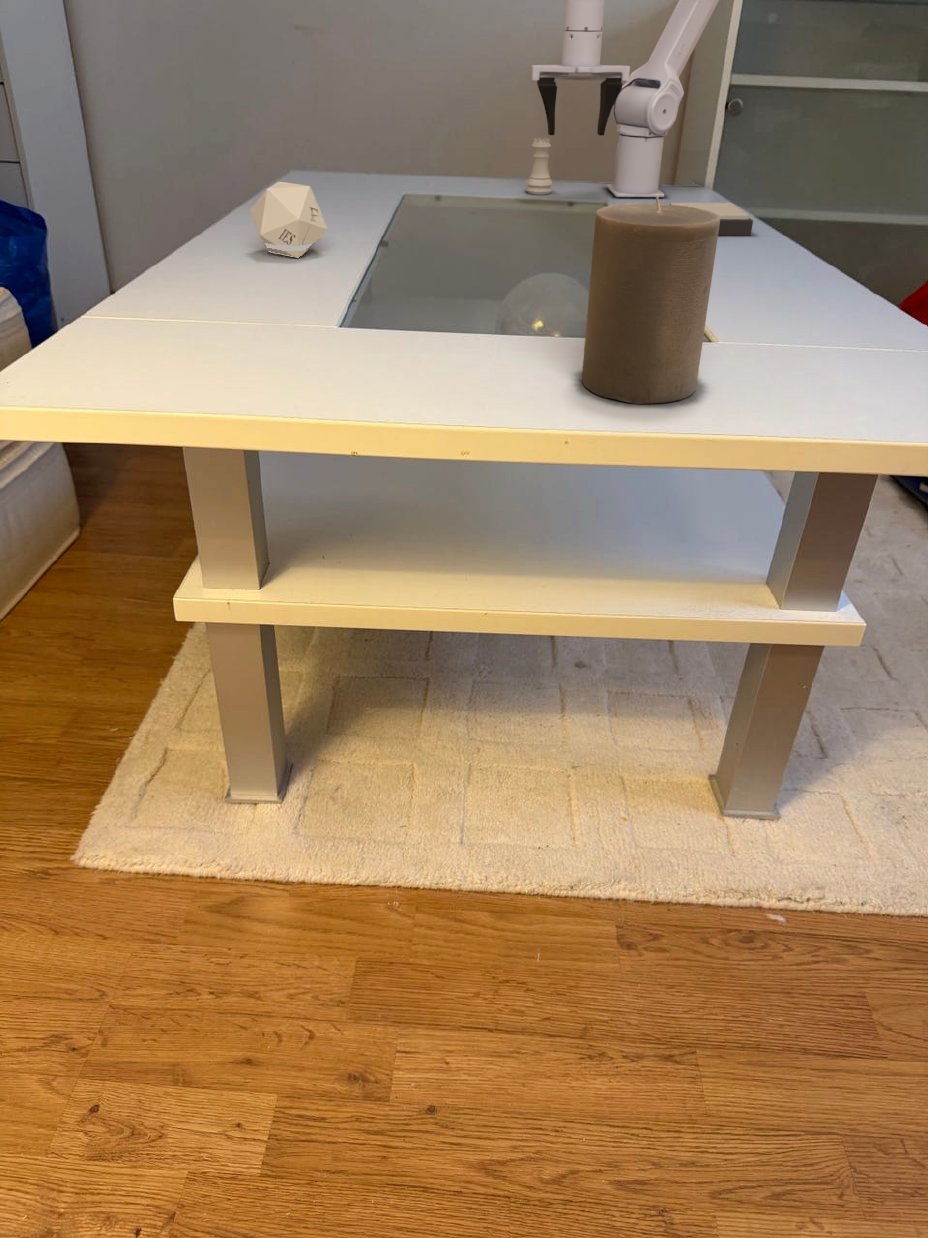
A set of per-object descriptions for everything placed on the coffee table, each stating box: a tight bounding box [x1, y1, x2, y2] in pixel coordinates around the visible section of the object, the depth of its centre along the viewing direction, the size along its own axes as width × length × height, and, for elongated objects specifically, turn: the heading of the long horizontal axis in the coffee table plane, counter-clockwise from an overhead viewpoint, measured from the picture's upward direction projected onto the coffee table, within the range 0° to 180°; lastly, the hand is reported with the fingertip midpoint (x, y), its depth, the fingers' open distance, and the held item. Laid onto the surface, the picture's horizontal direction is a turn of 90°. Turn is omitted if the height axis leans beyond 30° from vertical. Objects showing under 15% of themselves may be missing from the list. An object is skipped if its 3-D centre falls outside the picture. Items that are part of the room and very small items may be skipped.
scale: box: [669, 202, 754, 237], centre depth 135 cm, size 10×10×3 cm
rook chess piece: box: [525, 137, 553, 196], centre depth 156 cm, size 4×4×8 cm
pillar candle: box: [581, 195, 720, 405], centre depth 77 cm, size 10×10×15 cm
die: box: [249, 181, 329, 258], centre depth 118 cm, size 8×9×10 cm
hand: (575, 134), depth 146 cm, fingers open, 7 cm apart
